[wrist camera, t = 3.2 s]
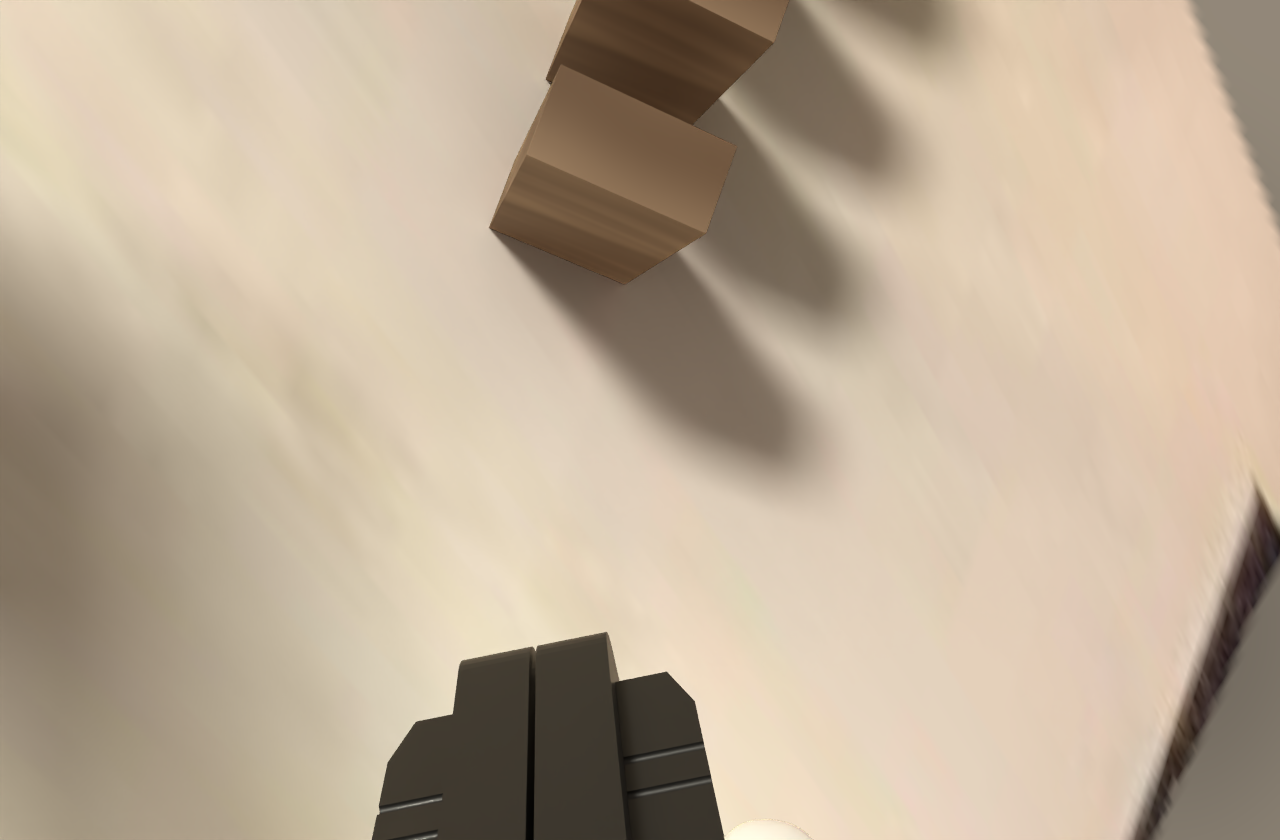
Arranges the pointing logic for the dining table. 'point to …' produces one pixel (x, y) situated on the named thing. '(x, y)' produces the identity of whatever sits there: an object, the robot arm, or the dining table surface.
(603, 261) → the domino
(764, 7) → the domino
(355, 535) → the dining table surface
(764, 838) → the dog bone
